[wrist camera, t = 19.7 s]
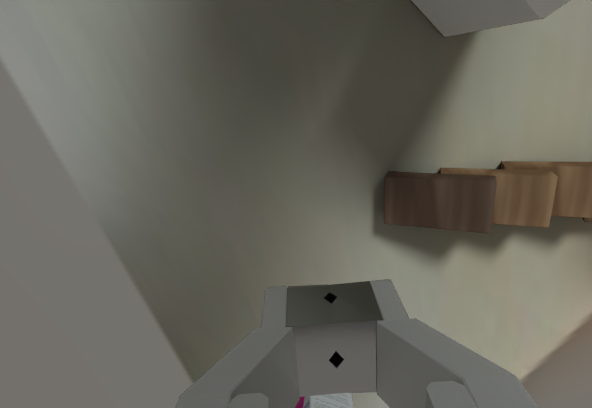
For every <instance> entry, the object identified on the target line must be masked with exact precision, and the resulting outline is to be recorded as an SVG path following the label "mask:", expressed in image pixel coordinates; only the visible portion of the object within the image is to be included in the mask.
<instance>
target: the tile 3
mask: <svg viewBox="0 0 592 408" xmlns="http://www.w3.org/2000/svg"><path fill="white" fill-rule="evenodd" d="M501 169H505V170H544V171H553V173H554V174H555V175H556V176H557V177H558V179H557V185H556V190H555V196H554V202H553V208H552V213H551V216H563V217H585V218H592V162H514V161H501Z"/></svg>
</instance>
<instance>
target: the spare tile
mask: <svg viewBox="0 0 592 408" xmlns="http://www.w3.org/2000/svg"><path fill="white" fill-rule="evenodd" d="M496 186H497V181H496V176H482V175H458V174H435V173H412V172H388V173H387V175H386V176H385V194H384V223H385V224H395V225H406V226H416V227H427V228H438V229H448V230H459V231H469V232H480V233H490V234H491V229H492V220H493V212H494V203H495V194H496Z"/></svg>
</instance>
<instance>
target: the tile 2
mask: <svg viewBox="0 0 592 408" xmlns="http://www.w3.org/2000/svg"><path fill="white" fill-rule="evenodd" d="M440 174H458V175H482V176H496V181H497V186H496V194H495V203H494V212H493V220H492V224H505V225H520V226H534V227H549V225H550V219H551V213H552V208H553V202H554V196H555V190H556V185H557V179H558V177H557V176H556V175H555V174H554V173H553V171H544V170H505V169H466V168H441V172H440Z"/></svg>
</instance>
